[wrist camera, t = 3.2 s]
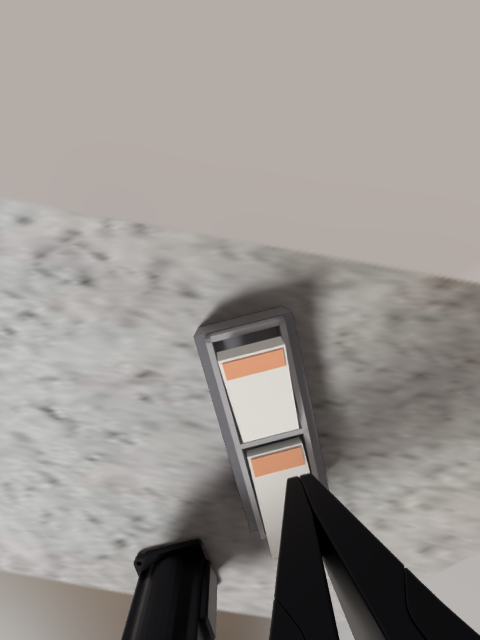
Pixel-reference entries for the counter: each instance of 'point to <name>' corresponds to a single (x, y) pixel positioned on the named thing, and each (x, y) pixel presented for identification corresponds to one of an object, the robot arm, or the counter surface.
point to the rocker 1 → (259, 388)
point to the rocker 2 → (275, 482)
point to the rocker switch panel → (208, 345)
